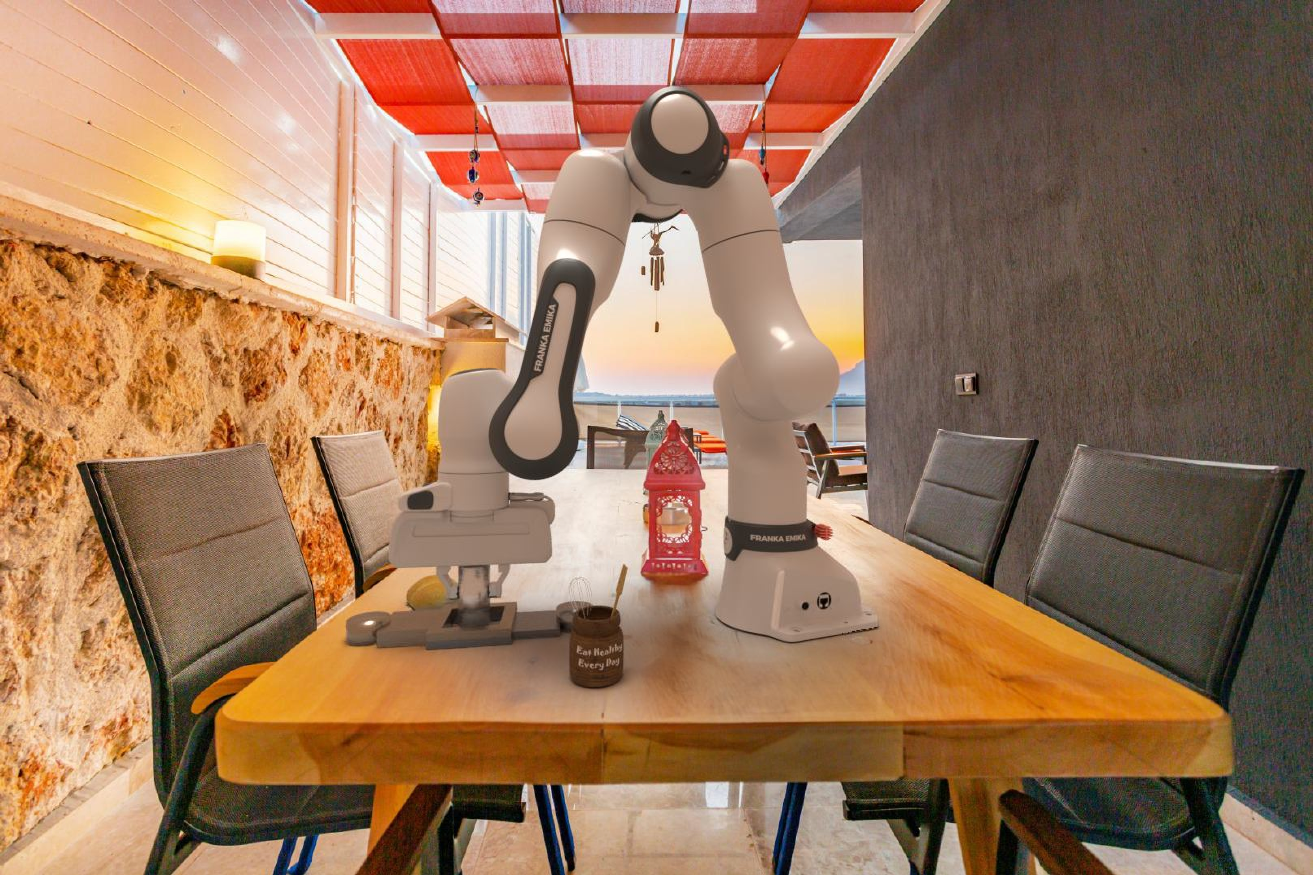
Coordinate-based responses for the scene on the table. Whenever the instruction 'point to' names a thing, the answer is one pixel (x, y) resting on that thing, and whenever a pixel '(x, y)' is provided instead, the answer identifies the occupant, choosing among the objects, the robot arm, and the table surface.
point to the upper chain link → (423, 626)
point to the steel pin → (473, 595)
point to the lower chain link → (521, 627)
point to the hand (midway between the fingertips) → (474, 597)
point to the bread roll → (428, 594)
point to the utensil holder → (597, 642)
